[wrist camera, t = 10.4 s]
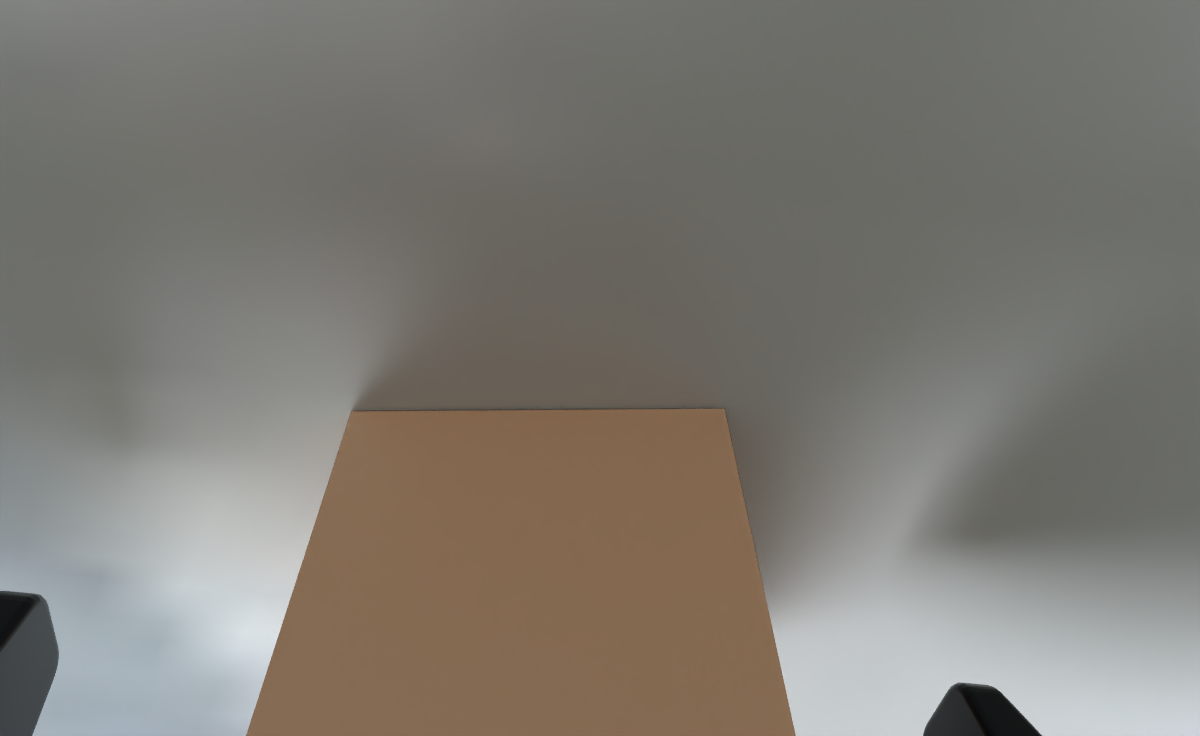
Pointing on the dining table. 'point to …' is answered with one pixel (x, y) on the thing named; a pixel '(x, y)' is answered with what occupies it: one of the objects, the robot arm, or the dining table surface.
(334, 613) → the toy hammer
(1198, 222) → the dining table surface
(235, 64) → the dining table surface
